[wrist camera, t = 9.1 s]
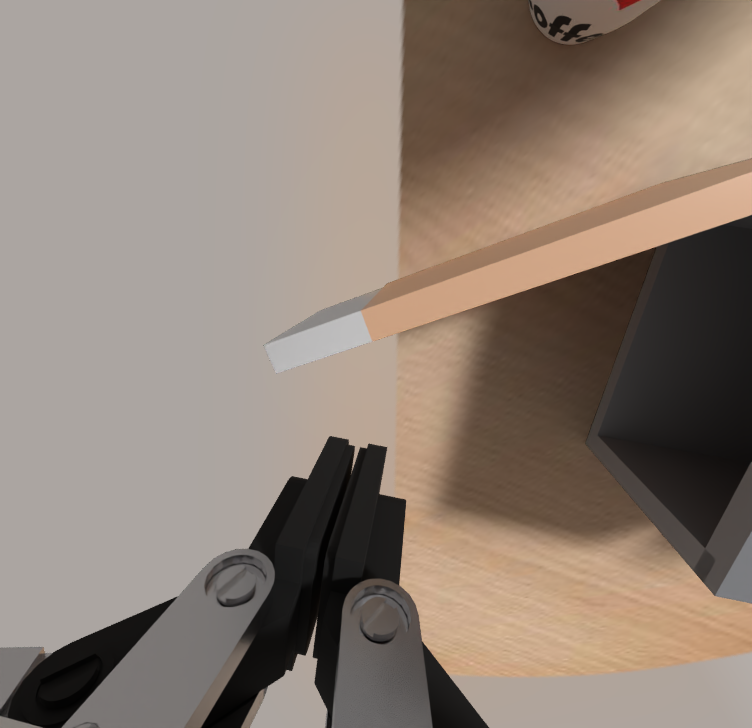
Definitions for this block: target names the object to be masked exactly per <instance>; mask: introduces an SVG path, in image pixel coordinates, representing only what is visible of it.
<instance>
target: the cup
mask: <svg viewBox="0 0 752 728" xmlns="http://www.w3.org/2000/svg"><path fill="white" fill-rule="evenodd" d="M659 1H661V0H529V8H530V12H531V15H532V18H533V20H534V23H535V24H536V26H537V28H538V29H539V30H540V31H541V33H542V34H544V35H545V36H546V37H547V38H549V39H550V40H552V41H554V42H557V43H560V44H566V45H574V44H580V43H584V42H587V41H589V40H592V39H594V38H597V37H599V36H602V35H604V34H606V33H609V32H611V31H614V30H616V29H618V28H620V27H622V26H624V25H626V24H628V23H629V22H631V21H632V20H634V19H635V18H636V17H638V16H639V15H641V14H642V13H643V12H645V11H646V10H648V9H649V8H651V7H652V6H653V5H655V4H656V3H658V2H659Z"/></svg>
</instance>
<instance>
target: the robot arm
mask: <svg viewBox="0 0 752 728" xmlns="http://www.w3.org/2000/svg"><path fill="white" fill-rule="evenodd" d="M354 450H355V446H352V445H349V440H347V439H342V438H337V437H332V436H330V437H329V438H328V440H327V442H326V444H325V446H324V448H323V450H322V452H321V454H320V456H319V458H318V460H317V462H316V464H315V466H314V468H313V470H312V472H311V474H310V476H309V478H308V479H303V478H298V477H293V476H292V477H291V478H290V479H289V480H288V481H287V483H286V485H285V487H284V488H283V490H282V492H281V494H280V495H279V497H278V499H277V500H276V502H275V504H274V506H273V507H272V509H271V511H270V512H269V514H268V516H267V518H266V520H265V521H264V523H263V525H262V526H261V528H260V530H259V532H258V533H257V535H256V537H255V539H254V540H253V542H252V544H251V545H250V547H249V549H235V550H232V551H229V552H225V553H223V554H221V555H219V556H217V557H216V558H214V559H213V560H212V561H211V562H209V563H208V564H207V565H206V566H205V567H204V568H203V569H202V570H201V571H200V572H199V574H198V575H197V576H196V577H195V578H194V579H193V580H192V582H191V583H190V584H189V585H188V586H187V587H186V588H185V589H184V590H183V592H182V593H181V594H180V595H179V596H178V597H175V598H173V599H171V600H169V601H166V602H164V603H162V604H159V605H157V606H155V607H152V608H150V609H148V610H145V611H143V612H141V613H139V614H137V615H134V616H132V617H129V618H127V619H125V620H123V621H120V622H118V623H116V624H113V625H111V626H109V627H106V628H104V629H102V630H99V631H97V632H95V633H93V634H90V635H88V636H86V637H83V638H81V639H79V640H76V641H74V642H72V643H70V644H68V645H66V646H64V647H62V648H61V649H59V650H57V651H55V652H53V653H45V652H44V647H16V648H0V728H250V725H251V724H252V722H253V719H254V718H255V716H256V714H257V711H258V710H259V708H260V706H261V704H262V701H263V699H264V696H265V694H266V691H267V688H268V686H269V685H270V684H272V683H274V682H275V681H277V680H278V679H280V678H281V677H283V676H284V674H285V671H286V670H290V671H292V669H293V666H294V663H295V660H296V657H297V654H301V655H306V653H307V650H308V647H309V644H310V640H311V637H312V634H313V630H314V627H315V623H316V620H317V627H316V635H315V642H314V651H313V658H317V659H318V660H317V668H316V676H315V685H316V687H317V689H318V691H319V693H320V696H321V698H322V700H323V702H324V703H325V705H326V708H327V714H326V724H325V728H489V727H488V726H487V724H486V723H485V722H484V721H483V719H482V718H481V717H480V716H479V714H478V713H477V712H476V710H475V709H474V708H473V706H472V705H471V704H470V703H469V701H468V700H467V699H466V697H465V696H464V695H463V693H462V692H461V691H460V690H459V688H458V687H457V686H456V685H455V683H454V682H453V681H452V679H451V678H450V677H449V675H448V674H447V673H446V672H445V670H444V669H443V668H442V666H441V665H440V664H439V662H438V661H437V660H436V659H435V657H434V656H433V655H432V653H431V652H430V651H429V650H428V648H427V647H426V646H425V644H424V643H423V642H422V638H421V630H420V622H419V615H418V612H417V608H416V605H415V603H414V601H413V600H412V598H411V596H410V595H409V594H408V593H407V592H406V591H405V590H404V589H403V588H402V587H401V586H399V580H400V568H401V556H402V544H403V533H404V521H405V509H406V500H405V499H400V498H395V497H390V496H385V495H380V494H379V492H380V485H381V480H382V474H383V468H384V463H385V457H386V451H387V447H383V446H377V445H372V444H368V447H367V449H366V448H360V450H359V453H358V456H357V459H356V462H355V465H354V468H353V471H352V465H353V458H354ZM351 472H352V474H351ZM317 617H318V618H317Z"/></svg>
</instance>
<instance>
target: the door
mask: <svg viewBox="0 0 752 728" xmlns="http://www.w3.org/2000/svg"><path fill="white" fill-rule="evenodd" d="M750 215H752V158H751V159H747V160H743V161H740V162H736V163H733V164H729V165H725V166H722V167H718V168H714V169H711V170H707V171H704V172H700V173H696V174H693V175H689V176H685V177H682V178H678V179H675V180H671V181H667V182H664V183H661V184H658V185H655V186H652V187H649V188H647V189H644V190H641V191H639V192H636V193H633V194H630V195H628V196H625V197H622V198H619V199H617V200H614V201H611V202H608V203H606V204H603V205H600V206H598V207H595V208H592V209H589V210H587V211H584V212H581V213H578V214H576V215H573V216H570V217H567V218H565V219H562V220H559V221H556V222H554V223H551V224H548V225H546V226H543V227H540V228H537V229H535V230H532V231H529V232H526V233H524V234H521V235H518V236H515V237H513V238H510V239H507V240H505V241H502V242H499V243H496V244H494V245H491V246H488V247H485V248H483V249H480V250H477V251H474V252H472V253H469V254H466V255H463V256H461V257H458V258H455V259H453V260H450V261H447V262H444V263H442V264H439V265H436V266H433V267H431V268H428V269H425V270H422V271H420V272H417V273H414V274H412V275H409V276H406V277H403V278H401V279H398V280H395V281H392V282H390V283H387V284H386V285H385V286H384V287H383V288H381V289H378V290H375V291H373V292H370V293H367V294H364V295H361V296H359V297H356V298H353V299H350V300H348V301H345V302H342V303H339V304H337V305H334V306H331V307H329V308H326V309H323V310H321V311H319V312H317V313H315V314H314V315H312V316H310V317H309V318H307V319H306V320H304V321H302V322H301V323H299V324H297V325H296V326H294V327H292V328H291V329H289V330H288V331H286V332H284V333H282V334H281V335H279V336H278V337H276V338H274V339H273V340H271V341H269V342H268V343H266V344H265V345H263V346H264V348H265V350H266V352H267V355H268V357H269V359H270V361H271V363H272V365H273V368H274V370H275V372H276V374H277V373H279V372H283V371H286V370H289V369H292V368H295V367H298V366H301V365H304V364H307V363H310V362H313V361H316V360H319V359H322V358H325V357H328V356H331V355H334V354H336V353H340V352H343V351H346V350H349V349H352V348H355V347H358V346H360V345H364V344H367V343H370V342H372V341H376V340H379V339H382V338H385V337H387V336H391V335H393V334H396V333H399V332H402V331H405V330H408V329H411V328H414V327H417V326H420V325H423V324H426V323H429V322H432V321H435V320H438V319H441V318H444V317H447V316H450V315H453V314H456V313H459V312H462V311H465V310H468V309H471V308H474V307H477V306H480V305H483V304H486V303H489V302H492V301H495V300H498V299H501V298H504V297H507V296H510V295H513V294H516V293H519V292H522V291H525V290H528V289H531V288H534V287H537V286H540V285H543V284H546V283H549V282H552V281H555V280H558V279H561V278H564V277H567V276H570V275H573V274H576V273H579V272H582V271H585V270H588V269H591V268H594V267H597V266H600V265H603V264H606V263H609V262H612V261H615V260H618V259H621V258H624V257H627V256H630V255H633V254H636V253H639V252H642V251H645V250H648V249H651V248H654V247H657V246H660V245H663V244H666V243H669V242H672V241H675V240H678V239H681V238H684V237H687V236H690V235H693V234H696V233H699V232H702V231H705V230H708V229H711V228H714V227H717V226H720V225H723V224H726V223H729V222H732V221H735V220H738V219H741V218H744V217H747V216H750Z"/></svg>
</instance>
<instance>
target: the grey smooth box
mask: <svg viewBox="0 0 752 728" xmlns="http://www.w3.org/2000/svg"><path fill="white" fill-rule="evenodd" d="M585 444H586V445H587V446H588V447H589V449H590V450H591V451H592V452H593V453H594V454H595V456H596V457H597V458H598V459H599V460H600V462H601V463H602V464H603V465H604V466H605V467H606V469H607V470H608V471H609V472H610V473H611V474H612V476H613V477H614V478H615V479H616V480H617V482H618V483H619V484H620V485H621V486H622V487H623V489H624V490H625V491H626V492H627V493H628V494H629V496H630V497H631V498H632V499H633V500H634V502H635V503H636V504H637V505H638V506H639V507H640V509H641V510H642V511H643V512H644V513H645V514H646V516H647V517H648V518H649V519H650V520H651V522H652V523H653V524H654V525H655V526H656V527H657V529H658V530H659V531H660V532H661V533H662V534H663V536H664V537H665V538H666V539H667V540H668V542H669V543H670V544H671V545H672V546H673V547H674V549H675V550H676V551H677V552H678V553H679V554H680V556H681V557H682V558H683V559H684V560H685V562H686V563H687V564H688V565H689V566H690V567H691V569H692V570H693V571H694V572H695V573H696V574H697V576H698V577H699V578H700V579H701V580H702V582H703V583H704V584H705V585H706V586H707V587H708V589H709V590H710V591H711V592H712V593H713V594H714V596H717V597H722V598H727V599H732V600H737V601H742V602H747V603H752V215H750V216H747V217H744V218H741V219H738V220H735V221H732V222H729V223H726V224H723V225H720V226H717V227H714V228H711V229H708V230H705V231H702V232H699V233H696V234H693V235H690V236H687V237H684V238H681V239H678V240H675V241H672V242H669V243H666V244H663V245H660V246H657V248H656V250H655V253H654V256H653V259H652V261H651V264H650V267H649V270H648V272H647V275H646V278H645V281H644V283H643V286H642V289H641V292H640V294H639V297H638V300H637V303H636V305H635V308H634V311H633V314H632V316H631V319H630V322H629V325H628V327H627V330H626V333H625V336H624V338H623V341H622V344H621V347H620V349H619V352H618V355H617V358H616V360H615V363H614V366H613V369H612V371H611V374H610V377H609V380H608V382H607V385H606V388H605V391H604V393H603V396H602V399H601V402H600V404H599V407H598V410H597V413H596V415H595V418H594V421H593V424H592V426H591V429H590V432H589V435H588V437H587V440H586V443H585Z"/></svg>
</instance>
